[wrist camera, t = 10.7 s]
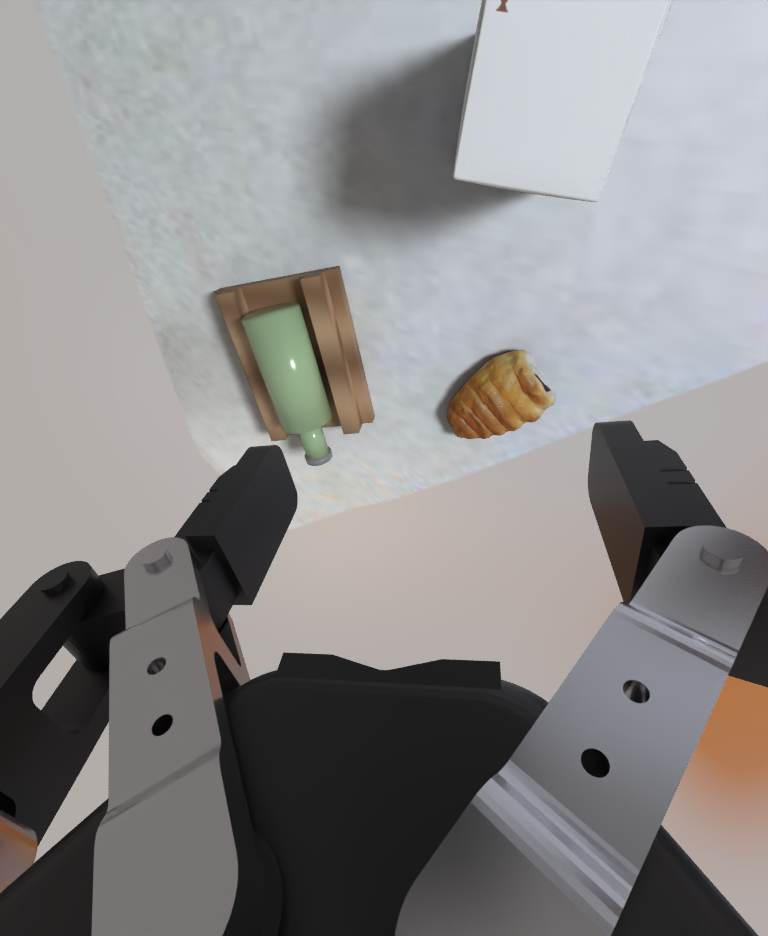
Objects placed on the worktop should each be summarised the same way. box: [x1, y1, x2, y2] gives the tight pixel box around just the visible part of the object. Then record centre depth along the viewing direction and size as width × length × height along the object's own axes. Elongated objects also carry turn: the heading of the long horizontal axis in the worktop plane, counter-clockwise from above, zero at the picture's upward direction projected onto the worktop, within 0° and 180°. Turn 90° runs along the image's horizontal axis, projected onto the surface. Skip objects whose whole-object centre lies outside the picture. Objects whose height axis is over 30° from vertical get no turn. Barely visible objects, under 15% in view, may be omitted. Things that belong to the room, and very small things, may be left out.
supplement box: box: [453, 0, 674, 202], centre depth 24 cm, size 7×7×13 cm
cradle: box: [215, 266, 375, 441], centre depth 41 cm, size 14×11×3 cm
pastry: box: [447, 350, 555, 439], centre depth 40 cm, size 9×7×4 cm
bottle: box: [241, 302, 332, 466], centre depth 40 cm, size 14×5×5 cm, turn 12°
